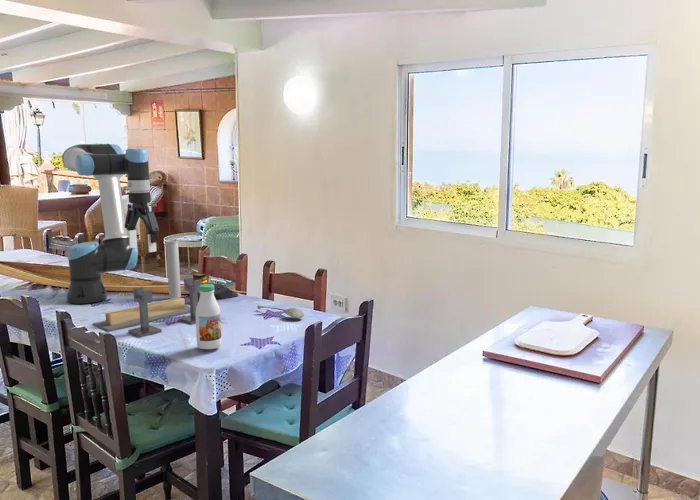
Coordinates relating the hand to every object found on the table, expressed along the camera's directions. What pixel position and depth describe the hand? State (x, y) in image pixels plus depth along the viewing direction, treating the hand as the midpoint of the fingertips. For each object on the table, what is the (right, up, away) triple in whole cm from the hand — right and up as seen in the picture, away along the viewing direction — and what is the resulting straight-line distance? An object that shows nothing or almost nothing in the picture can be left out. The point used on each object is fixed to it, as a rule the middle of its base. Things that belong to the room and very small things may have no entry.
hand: (142, 249), depth 222 cm
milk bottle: (+31, -31, -28) cm, 52 cm away
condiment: (+14, -22, +26) cm, 37 cm away
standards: (+12, -27, -6) cm, 30 cm away
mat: (0, -26, +4) cm, 26 cm away
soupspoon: (+47, -24, +7) cm, 53 cm away
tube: (+3, -21, +31) cm, 38 cm away
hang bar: (0, -25, +4) cm, 25 cm away
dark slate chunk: (+17, -20, +41) cm, 49 cm away
